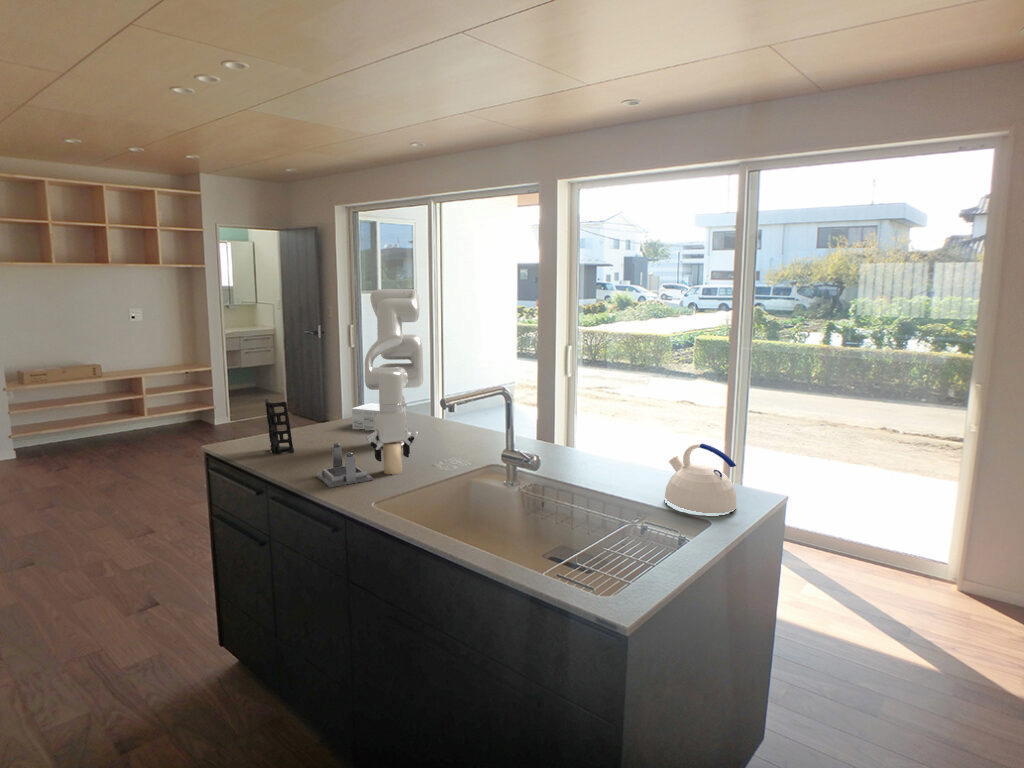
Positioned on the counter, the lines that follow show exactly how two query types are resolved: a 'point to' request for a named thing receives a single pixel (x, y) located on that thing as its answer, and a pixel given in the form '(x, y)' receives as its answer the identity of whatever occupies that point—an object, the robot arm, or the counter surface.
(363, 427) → the supplement box
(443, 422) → the counter surface
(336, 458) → the stand
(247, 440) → the counter surface
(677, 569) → the counter surface
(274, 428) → the holder
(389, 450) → the paper roll
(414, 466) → the counter surface
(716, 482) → the kettle
